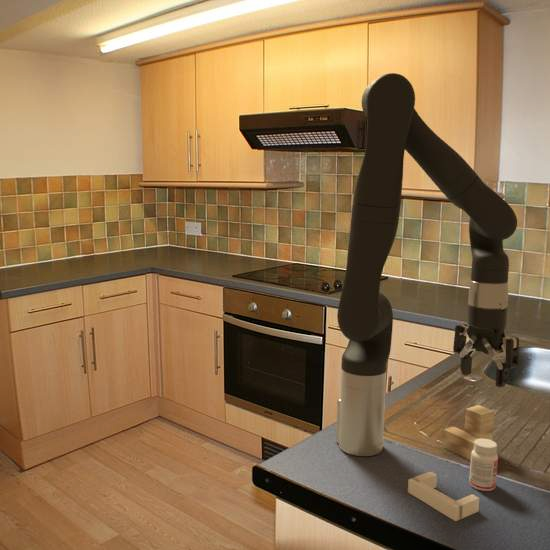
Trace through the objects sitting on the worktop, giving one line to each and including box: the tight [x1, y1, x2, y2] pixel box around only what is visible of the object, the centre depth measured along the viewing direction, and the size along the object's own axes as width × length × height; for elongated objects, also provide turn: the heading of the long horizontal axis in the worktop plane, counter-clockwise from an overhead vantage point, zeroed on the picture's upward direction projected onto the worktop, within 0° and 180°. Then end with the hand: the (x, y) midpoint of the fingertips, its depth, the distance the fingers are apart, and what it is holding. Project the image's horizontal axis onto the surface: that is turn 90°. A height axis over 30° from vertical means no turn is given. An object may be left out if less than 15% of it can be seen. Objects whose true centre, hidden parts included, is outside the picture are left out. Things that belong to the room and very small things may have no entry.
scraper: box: [442, 404, 495, 462], centre depth 125 cm, size 10×7×9 cm
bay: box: [407, 471, 480, 522], centre depth 107 cm, size 11×6×2 cm, turn 33°
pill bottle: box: [468, 439, 499, 492], centre depth 112 cm, size 5×5×8 cm
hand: (483, 380), depth 124 cm, fingers open, 8 cm apart
